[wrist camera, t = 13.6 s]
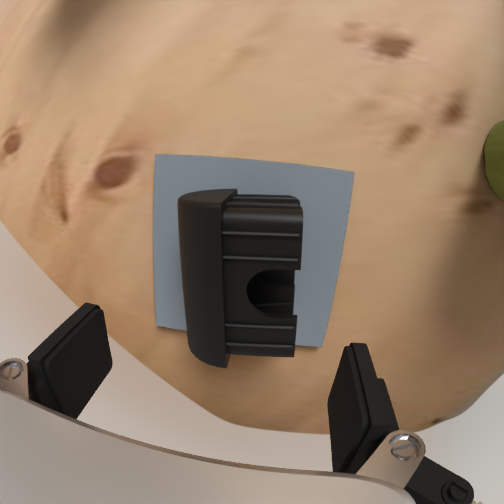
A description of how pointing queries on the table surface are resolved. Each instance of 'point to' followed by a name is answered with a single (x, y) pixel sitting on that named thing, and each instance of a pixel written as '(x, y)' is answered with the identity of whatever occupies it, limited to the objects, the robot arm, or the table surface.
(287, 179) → the slate mat
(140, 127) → the table surface
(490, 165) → the plant pot
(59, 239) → the table surface
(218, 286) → the end cap
